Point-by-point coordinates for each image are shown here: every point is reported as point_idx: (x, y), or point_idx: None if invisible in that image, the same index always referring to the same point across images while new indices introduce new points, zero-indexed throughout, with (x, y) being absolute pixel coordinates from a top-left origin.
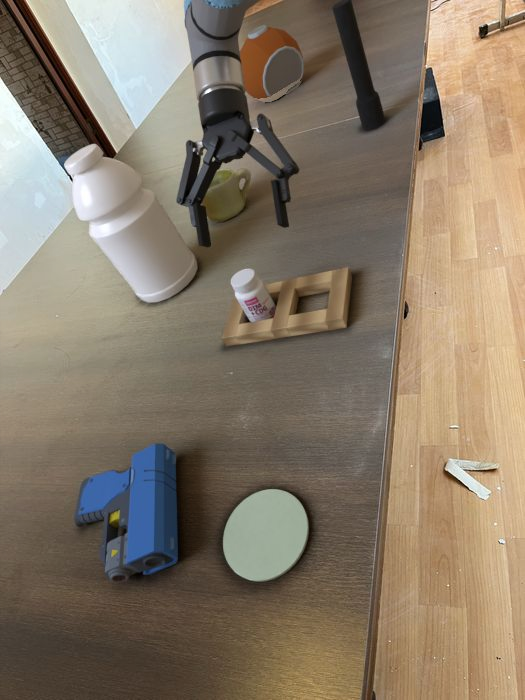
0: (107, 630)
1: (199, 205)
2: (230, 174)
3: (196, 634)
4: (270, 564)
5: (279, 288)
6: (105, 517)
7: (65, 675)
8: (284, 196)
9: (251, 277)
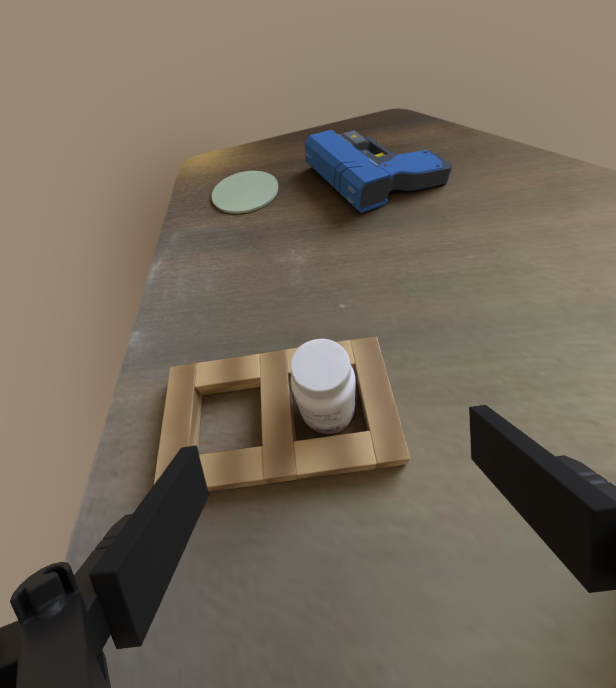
0: None
1: (585, 530)
2: None
3: (278, 150)
4: (235, 178)
5: (296, 449)
6: (388, 151)
7: (361, 120)
8: (123, 526)
9: (294, 360)
